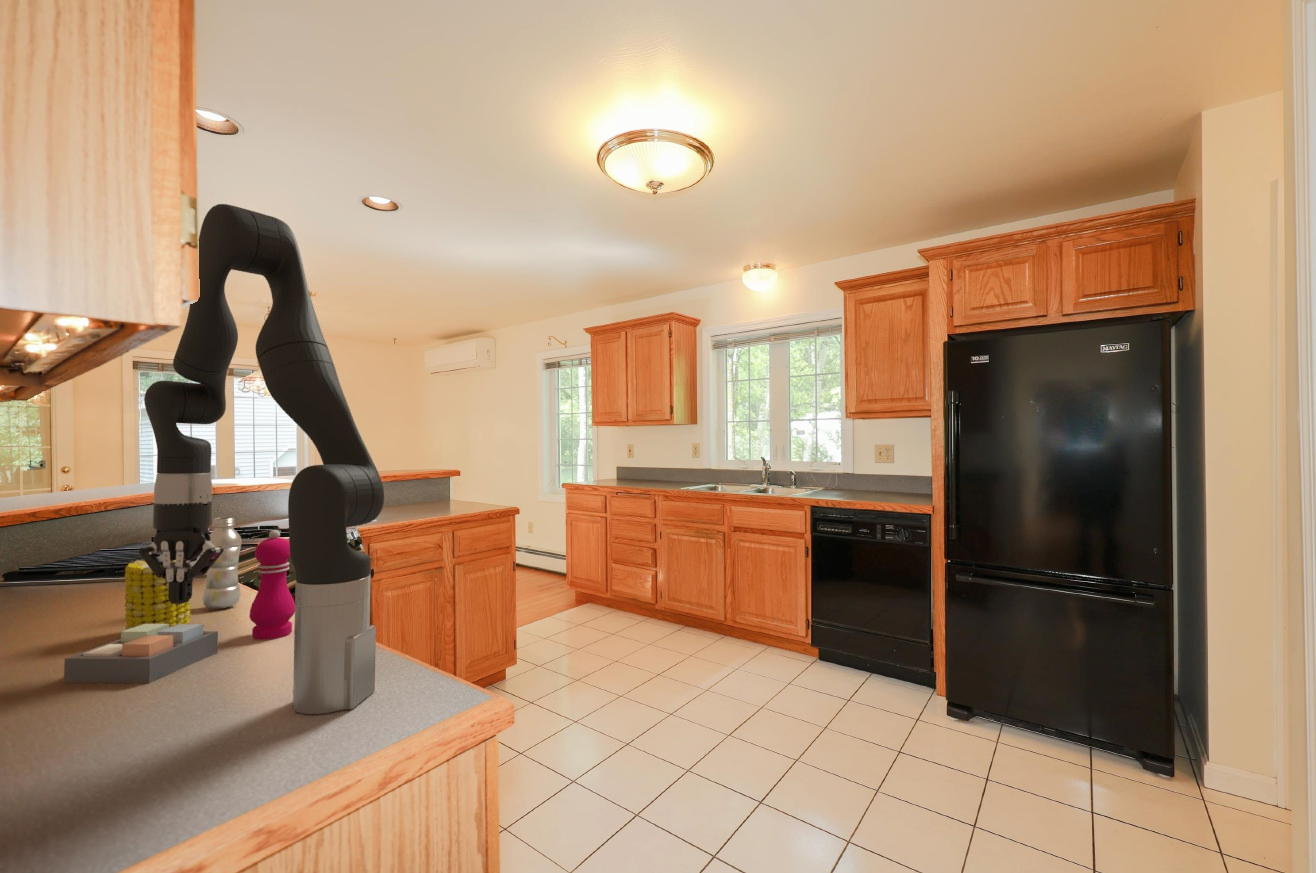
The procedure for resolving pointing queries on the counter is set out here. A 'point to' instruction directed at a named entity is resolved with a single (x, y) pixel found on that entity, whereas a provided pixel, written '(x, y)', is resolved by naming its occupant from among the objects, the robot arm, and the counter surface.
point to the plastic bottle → (223, 566)
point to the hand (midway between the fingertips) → (180, 602)
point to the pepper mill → (272, 590)
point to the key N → (105, 650)
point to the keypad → (138, 662)
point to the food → (150, 599)
